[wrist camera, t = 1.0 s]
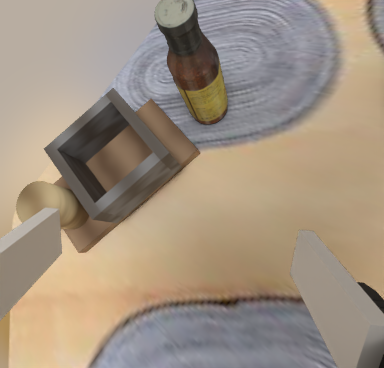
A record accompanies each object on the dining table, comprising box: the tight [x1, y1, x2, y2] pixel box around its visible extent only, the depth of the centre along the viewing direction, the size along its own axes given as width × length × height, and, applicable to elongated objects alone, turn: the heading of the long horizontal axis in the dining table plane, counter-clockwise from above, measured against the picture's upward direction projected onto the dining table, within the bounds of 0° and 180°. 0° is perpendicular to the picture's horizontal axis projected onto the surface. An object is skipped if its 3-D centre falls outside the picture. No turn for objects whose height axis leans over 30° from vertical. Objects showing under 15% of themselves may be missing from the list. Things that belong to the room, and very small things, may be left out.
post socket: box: [16, 88, 200, 253], centre depth 41 cm, size 24×13×10 cm, turn 129°
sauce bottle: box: [155, 0, 228, 124], centre depth 35 cm, size 6×6×20 cm
